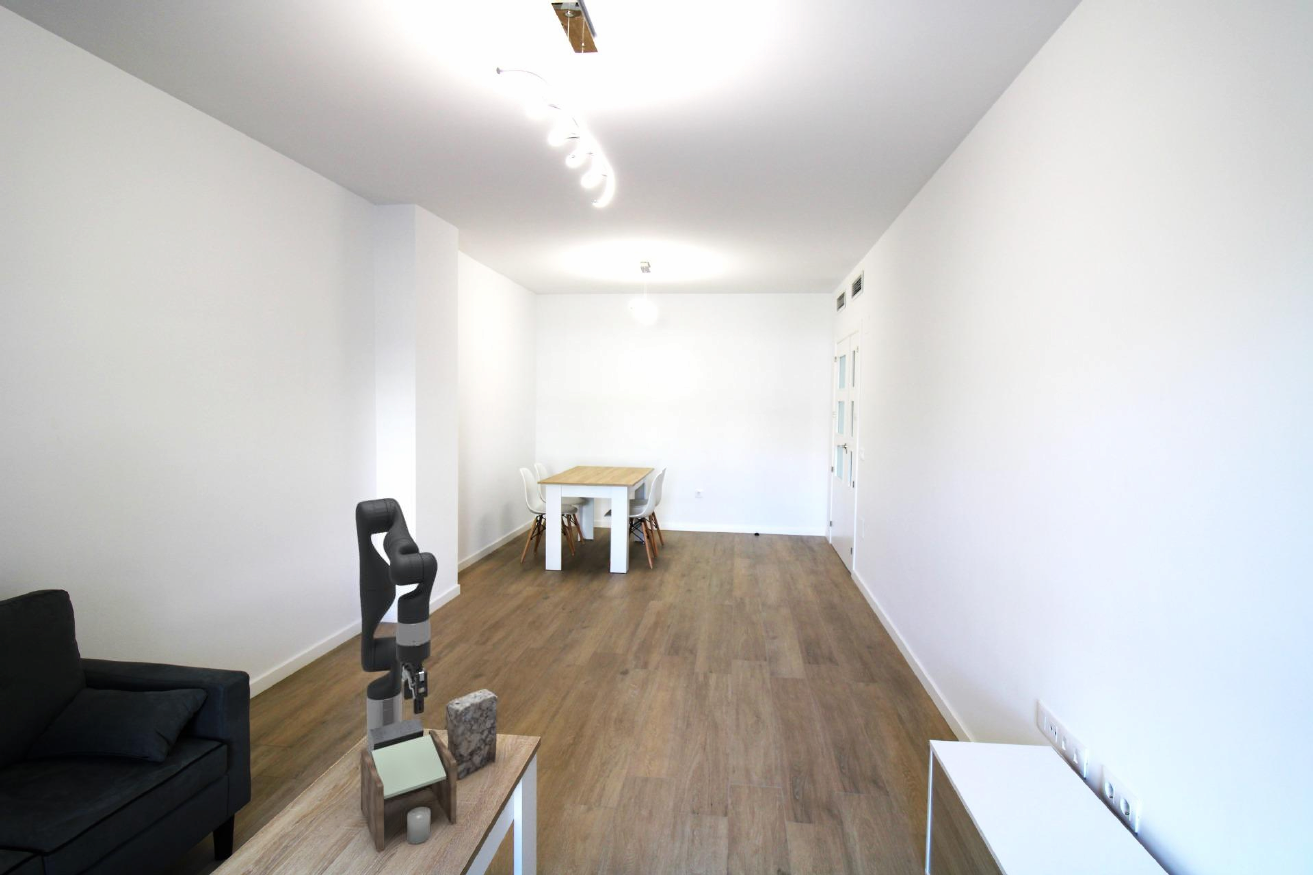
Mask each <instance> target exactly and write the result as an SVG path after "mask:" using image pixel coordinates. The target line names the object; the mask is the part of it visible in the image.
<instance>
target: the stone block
mask: <svg viewBox="0 0 1313 875" xmlns="http://www.w3.org/2000/svg"><path fill="white" fill-rule="evenodd" d="M498 701H499V696H497V695H496V694H495V693H493V692H492V691H490V690H488V689H487V688H483V689H480V690H477V691H473V692H471V693H469V694H465V695H463V696H461V697H457V698H455V699H452V700H450V701H449V702H448V703H447V704H446V705H445V721H446V735H447V747H446V748H447V749H448V750H449V752H450V753H451V755H452V756H453V757H454V759H455V760H456V762H457V780H462V779H464V778H466V777H468V776H470V775H472V774H474V773H476V772H478V771H479V770H482V769H483V768H485V767H487V766H488V765H490V764H493V763H495V762H496V756H497V736H498V735H497V734H498V733H497V731H498V728H497V727H498V726H497V723H498V716H497V715H498Z"/></svg>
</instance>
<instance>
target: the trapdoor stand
mask: <svg viewBox="0 0 1313 875" xmlns="http://www.w3.org/2000/svg"><path fill="white" fill-rule="evenodd" d="M428 735H430V736H431V738H432V741H433V743H434V746H435V748H436V751H437V753H438V756H439V758H440V761H441V763H442V766H443V768H444V771H445V773H446V779H444V780H441V781H438V782H435V783H432V784H429V785H426V786H423V787H420V788H417V789H414V790H411V791H408V792H405V793H402V794H399V795H396V796H393V797H390V798H387V799H384V785H383V783H382V780H381V778H380V776H379V774H378V772H377V770H376V768H375V766H374V762H373V759H371V757H370V755H369V753H368V751H367V747H365V748H362V749H360V810H361V813H362V814H363V817H364V820H365V822H366V825H367V827H368V830H369V832H370V835H371V838H372V840H373V843H374V845H375V848H376V850H377V853H380V852H382V851H384V850H385V849H384V848H385V843H384V841H385V836H384V835H385V830H384V829H385V825H384V820H385V819H384V817H385V816H384V815H385V812H384V810H385V809H384V808H385V806H384V805H385V804H389V803H391V802H394V801H397V800H400V799H403V798H406V797H409V796H413V795H416V794H418V793H421V792H424V791H427V790H429V789H430V791H431V793H432V795H433V796H434V798H435V799H436V801H437V802H438V805H439V806H440V808H441V810H442V811H443V813H444V814H445V816H446V818H447V819H448V822H449V823H450V825H455V824H457V791H458V790H457V785H458V784H457V782H458V781H457V762H456V760H455V759H454V757H453V756H452V755H451V753H450V752H449V750H448V749H447V748H448V747H447V746H446V744H445V743H444V742H443V740H442V739H441V737H440V736H439V734H438V733H437V732H436V730H435V729H429V730H428Z"/></svg>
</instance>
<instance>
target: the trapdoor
mask: <svg viewBox="0 0 1313 875" xmlns="http://www.w3.org/2000/svg"><path fill="white" fill-rule="evenodd" d="M424 733H425V730H424V727H423V724H422V721H421V719H420V716H418V717H417V716H416V717H414V718H410V719H407V720H402V722H398V723H394V724H390V725H387V726H383V727H379V728H375V729H372V730H370V735H369V740H370V744H371V747H372V751H371V755H372V762H373V764H374V766H375V768H376V770H377V772H378V774H379V776H380V778H381V780H382V783H383V785H384V799H387V798H390V797H393V796H396V795H399V794H402V793H405V792H408V791H411V790H414V789H417V788H420V787H423V786H426V785H429V784H432V783H435V782H438V781H441V780H444V779H446V773H445V771H444V768H443V766H442V763H441V761H440V758H439V756H438V753H437V751H436V748H435V746H434V743H433V741H432V738H431V736H430V735H429V734H427V735H424Z"/></svg>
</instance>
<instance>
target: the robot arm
mask: <svg viewBox="0 0 1313 875" xmlns="http://www.w3.org/2000/svg"><path fill="white" fill-rule="evenodd" d="M354 517H355V526H356V537H357V545H358V556H359V561H358V562H359V565H358V566H359V578H358V579H359V599H360V600H359V601H360V612H361V613H360V615H361V637H360V638H361V640H360V641H361V642H360V643H361V644H360V665H361V668H362V670H363V671H364V672H365V673H376V672H377V673H378V672H387V671H388V672H387V673H386V674H383V675H382V676H380V677H378V678H376V679H374V680H372V681H371V682H369V683H368V685H367V688H366V749H367V751H368V753H369V755H370V757H371V759H372V755H371V751H372V747H371V744H370V740H369V735H370V730H372V729H375V728H379V727H383V726H387V725H390V724H394V723H398V722H402V721H403V716H402V715H403V711H402V709H403V707H402V704H403V702H402V700H405V701H408V700H411V699H412V700H413V705H412V706H413V709H412V710H413V712H412V713H413V714H414V715H420V714H423V713H424V711H425V698H427V697H428V696H429V693H428V689H429V688H428V684H429V683H428V670H426V669H425V666H424V665H423V662H424V661H426V660H428V659H429V658H430V657H431V654H432V652H431V650H432V648H431V646H432V645H431V642H432V641H431V635H432V634H431V630H432V629H431V621H430V602H431V596H432V595H431V594H432V590H433V587H434V585H435V580H436V577H437V573H438V567H439V566H438V560H437V558H436V556H435V555H434V554H433V553H432V552H429V551H425V552H424V551H423V552H420V549H419V546H418V544H417V542H415V539H414V538H413V537H412V535H411V534H410V532H409V528H408V525H407V521H406V518H405V516H404V513H403V510H402V506H401V505H400V503H399V502H398V501H397V499H395V498H393V497H386V498H384V497H383V498H378V499H370V500H363V501H359V502H358V503H357V504H356V508H355V516H354ZM384 533H386V534H385V535H384V537H383V540H382V541H383V543H382V547H383V550H384V553H385V554H386V557H387V558H388V560H389V563H388V562H387V561H386V560H385V559H384V557H383V556H381V554H380V553H379V551H378V550H377V548H376V547H375V545H374V544H373V540H372V536H373V535H376V534H378V535H379V534H384ZM416 584H417V586H416V587H415V588H414V589H413V590H411V591H408V592H406V593H404V594H402V595H400V596H399V597H398V599H397V606H396V607H397V609H396V610H397V612H396V614H397V619H396V620H397V622H396V629H395V634H396V635H395V636H394V635H393V636H384V637H374V636H375V633H376V630H377V629H378V626H380V623H381V621H382V619H383V618H384V617H385V615H386V614H387V613H388V611H389V610H390V609H391V607H392V606H393V604H394V603H395V602H394V601H395V599H396V597H397V586H400V587H403V586H404V587H405V586H411V585H416ZM402 685H403V689H402ZM402 692H403V693H402ZM402 695H403V697H402ZM402 698H403V699H402ZM372 760H373V759H372Z"/></svg>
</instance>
